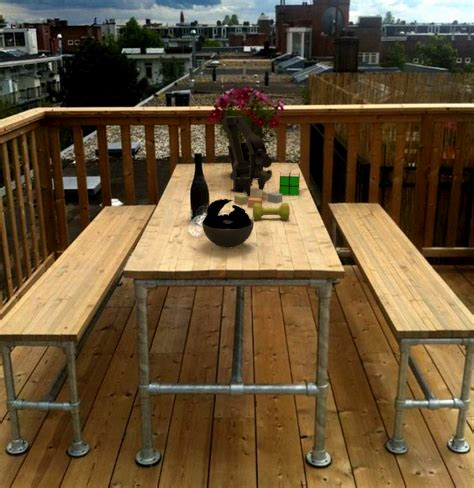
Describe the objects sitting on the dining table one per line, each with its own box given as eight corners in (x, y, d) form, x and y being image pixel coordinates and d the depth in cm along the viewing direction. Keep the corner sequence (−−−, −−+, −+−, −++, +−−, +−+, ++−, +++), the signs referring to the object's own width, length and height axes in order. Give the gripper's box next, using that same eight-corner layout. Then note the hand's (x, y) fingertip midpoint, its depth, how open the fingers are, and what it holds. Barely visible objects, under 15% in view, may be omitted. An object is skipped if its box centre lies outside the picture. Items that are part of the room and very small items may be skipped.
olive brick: (234, 202, 308) (234, 194, 307) (241, 201, 310) (241, 193, 309) (239, 205, 303) (240, 197, 302) (247, 204, 305) (247, 196, 304)
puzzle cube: (299, 190, 330) (299, 172, 327) (298, 195, 321) (299, 176, 318) (279, 190, 331) (280, 171, 328) (279, 195, 322) (279, 176, 319)
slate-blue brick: (267, 201, 311) (267, 193, 309) (272, 199, 314) (272, 192, 312) (277, 203, 307) (277, 195, 306) (282, 202, 310) (282, 194, 309)
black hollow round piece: (204, 237, 257) (203, 193, 251) (253, 238, 257) (254, 193, 251) (200, 254, 239) (199, 207, 232) (253, 255, 238) (253, 207, 232)
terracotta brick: (247, 207, 300) (247, 199, 299) (250, 205, 304) (250, 197, 302) (259, 208, 298) (259, 200, 297) (262, 206, 302) (262, 198, 301)
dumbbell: (288, 216, 287) (288, 201, 284) (289, 222, 279) (290, 206, 277) (252, 216, 286) (252, 201, 284) (252, 221, 279) (252, 206, 277)
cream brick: (247, 196, 319) (247, 189, 318) (252, 195, 322) (252, 187, 320) (257, 198, 315) (257, 191, 314) (261, 197, 318) (262, 189, 317)
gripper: (255, 169, 301) (254, 201, 307) (279, 163, 314) (278, 194, 320) (238, 166, 308) (237, 197, 314) (262, 160, 321) (262, 190, 327)
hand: (254, 194), depth 318 cm, fingers open, 9 cm apart
